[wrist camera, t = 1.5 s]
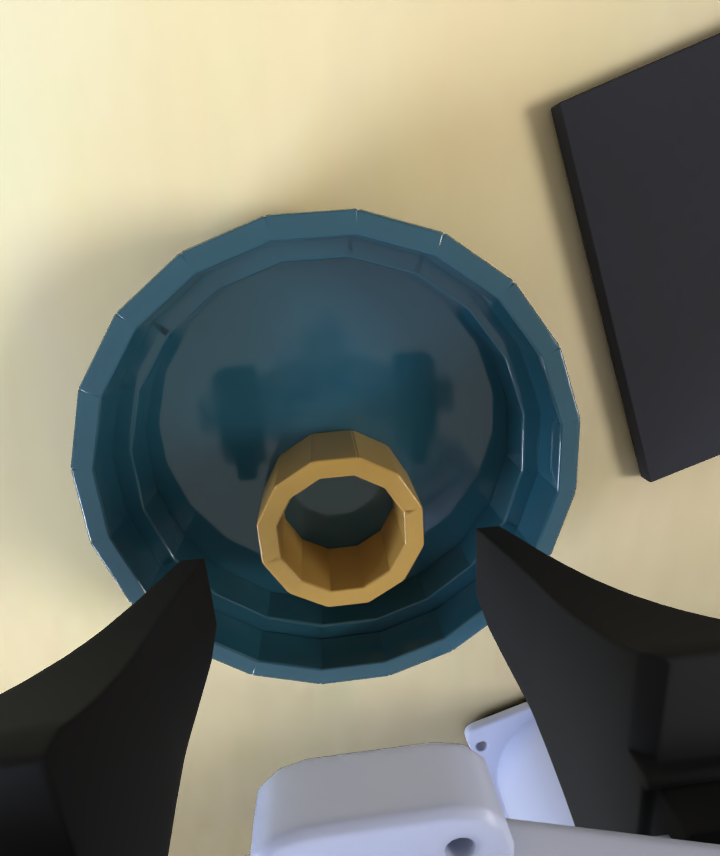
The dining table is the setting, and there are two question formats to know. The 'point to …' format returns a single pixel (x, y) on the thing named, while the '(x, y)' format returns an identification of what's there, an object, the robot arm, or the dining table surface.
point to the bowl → (323, 429)
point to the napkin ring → (346, 566)
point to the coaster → (655, 244)
